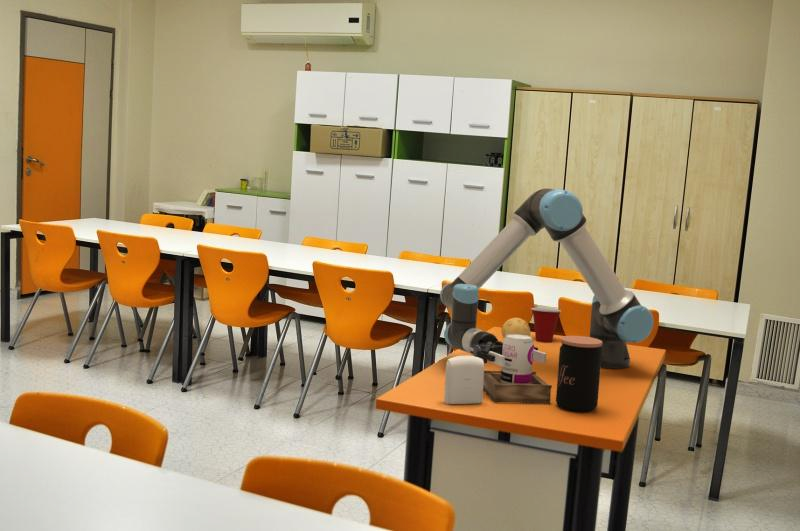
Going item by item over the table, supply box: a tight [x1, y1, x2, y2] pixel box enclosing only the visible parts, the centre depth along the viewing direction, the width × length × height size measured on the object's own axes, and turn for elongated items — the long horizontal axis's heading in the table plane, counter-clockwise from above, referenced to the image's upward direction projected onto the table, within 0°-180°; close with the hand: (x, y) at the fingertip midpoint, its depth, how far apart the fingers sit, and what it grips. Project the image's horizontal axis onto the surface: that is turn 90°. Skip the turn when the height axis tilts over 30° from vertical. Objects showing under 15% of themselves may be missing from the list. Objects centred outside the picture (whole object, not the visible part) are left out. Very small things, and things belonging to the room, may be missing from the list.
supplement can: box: [500, 334, 535, 384], centre depth 233 cm, size 8×8×15 cm
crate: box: [483, 370, 553, 405], centre depth 233 cm, size 15×15×5 cm
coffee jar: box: [555, 335, 603, 414], centre depth 224 cm, size 11×11×18 cm
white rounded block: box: [443, 355, 485, 405], centre depth 223 cm, size 10×4×12 cm, turn 105°
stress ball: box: [501, 317, 531, 340], centre depth 301 cm, size 10×10×10 cm
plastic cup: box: [530, 307, 562, 343], centre depth 313 cm, size 11×11×12 cm
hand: (524, 360), depth 230 cm, fingers open, 13 cm apart
